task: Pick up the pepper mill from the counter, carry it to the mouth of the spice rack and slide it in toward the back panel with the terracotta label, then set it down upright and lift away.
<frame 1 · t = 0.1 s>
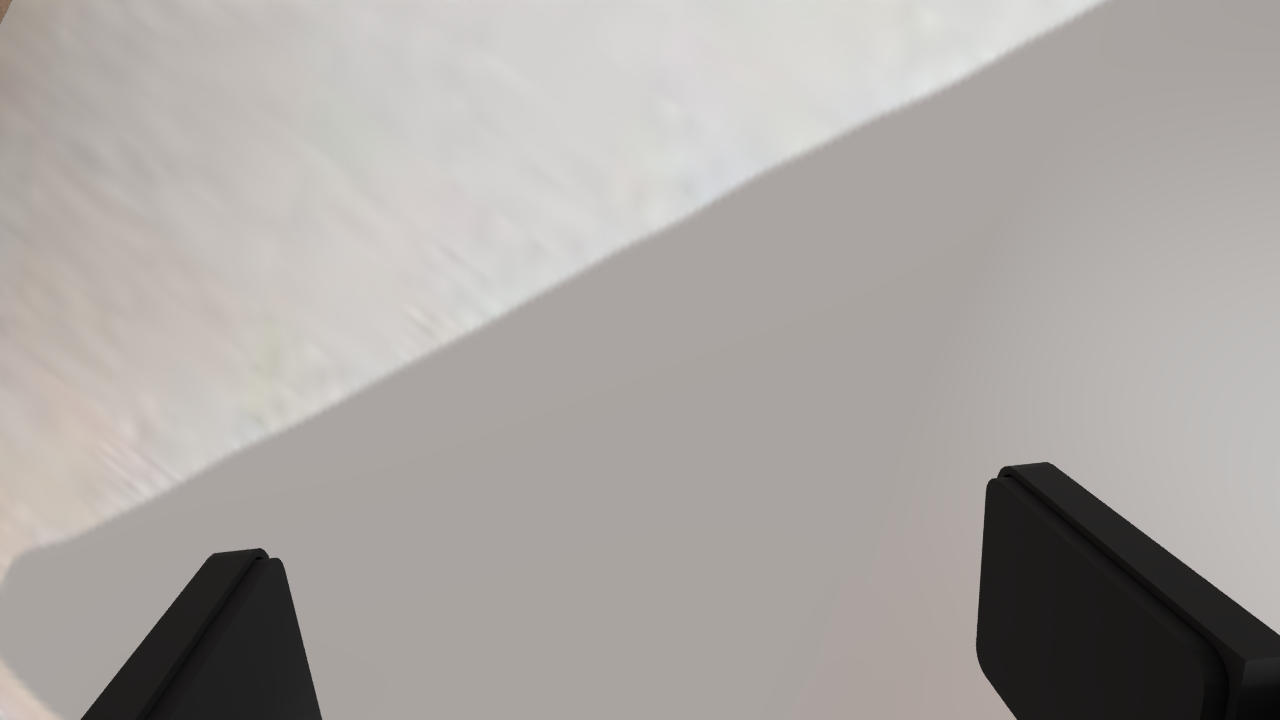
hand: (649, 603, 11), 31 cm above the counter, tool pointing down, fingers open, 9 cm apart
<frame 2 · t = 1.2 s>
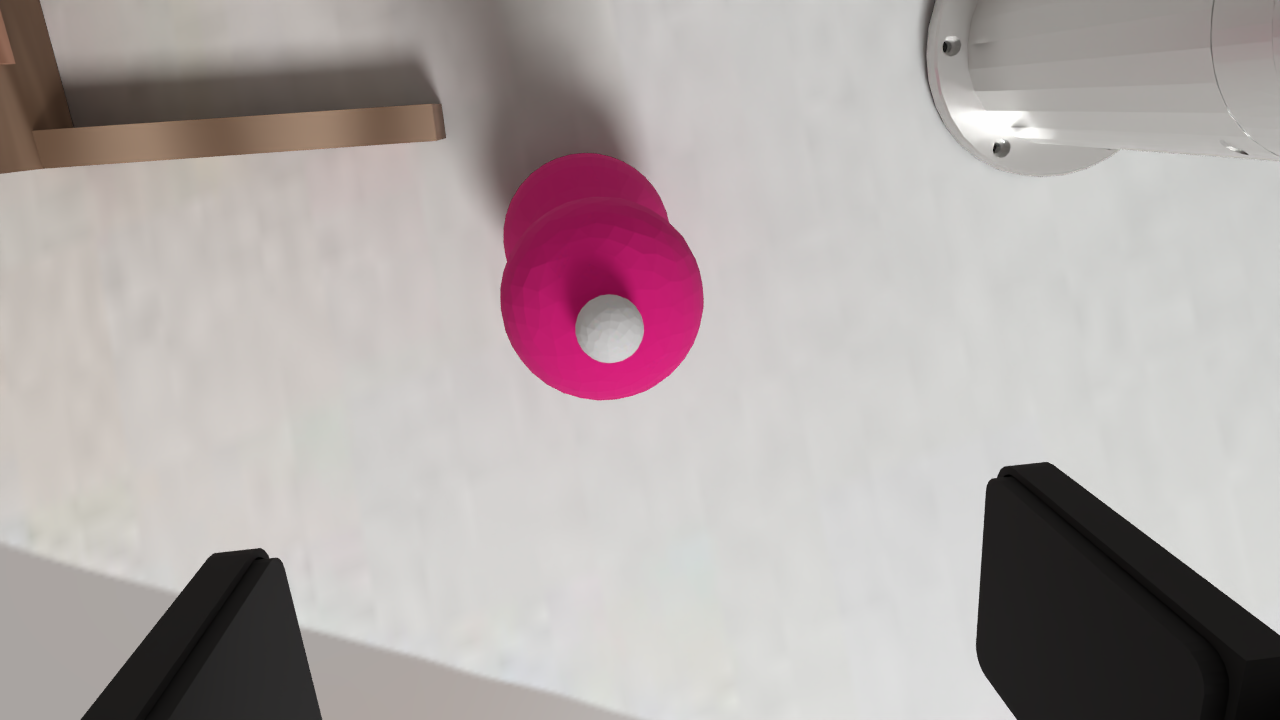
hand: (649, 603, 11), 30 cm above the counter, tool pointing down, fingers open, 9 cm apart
pepper mill: (584, 224, 39), on the counter
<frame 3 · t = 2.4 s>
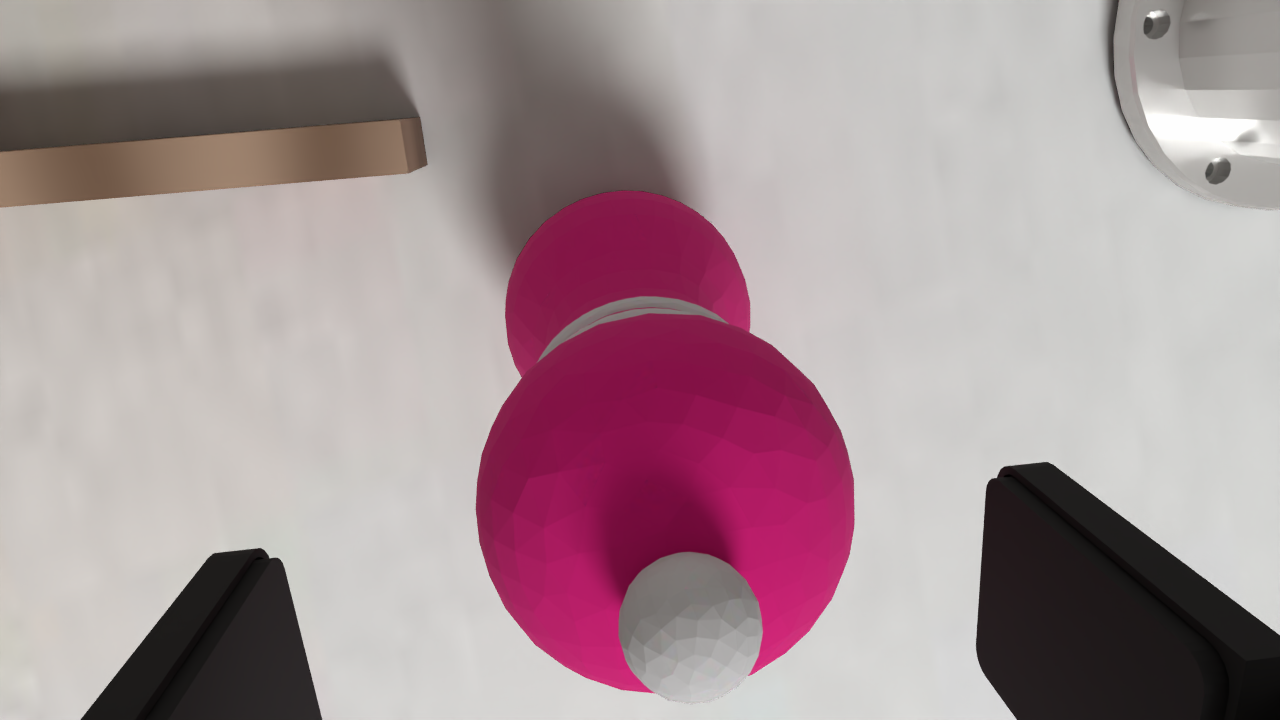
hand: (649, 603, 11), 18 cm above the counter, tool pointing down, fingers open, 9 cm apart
pepper mill: (620, 280, 28), on the counter
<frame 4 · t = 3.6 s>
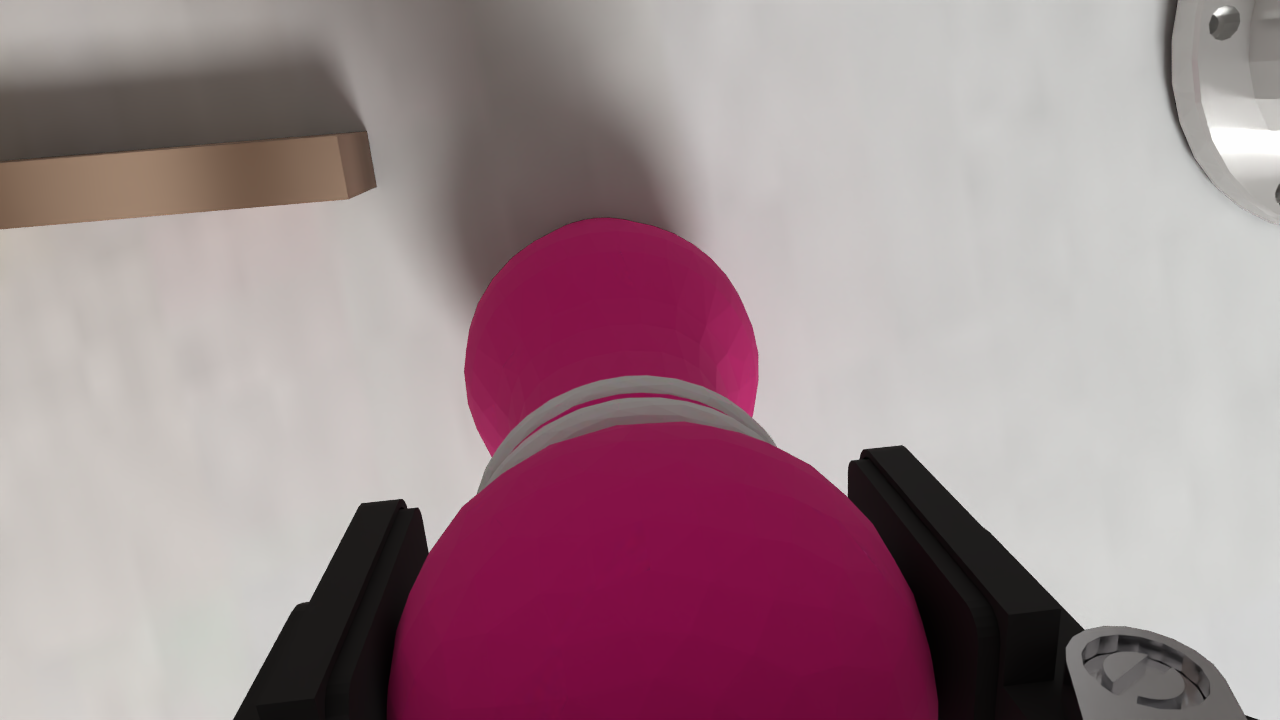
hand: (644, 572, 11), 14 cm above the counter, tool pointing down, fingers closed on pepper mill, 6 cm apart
pepper mill: (604, 319, 24), on the counter, touching gripper
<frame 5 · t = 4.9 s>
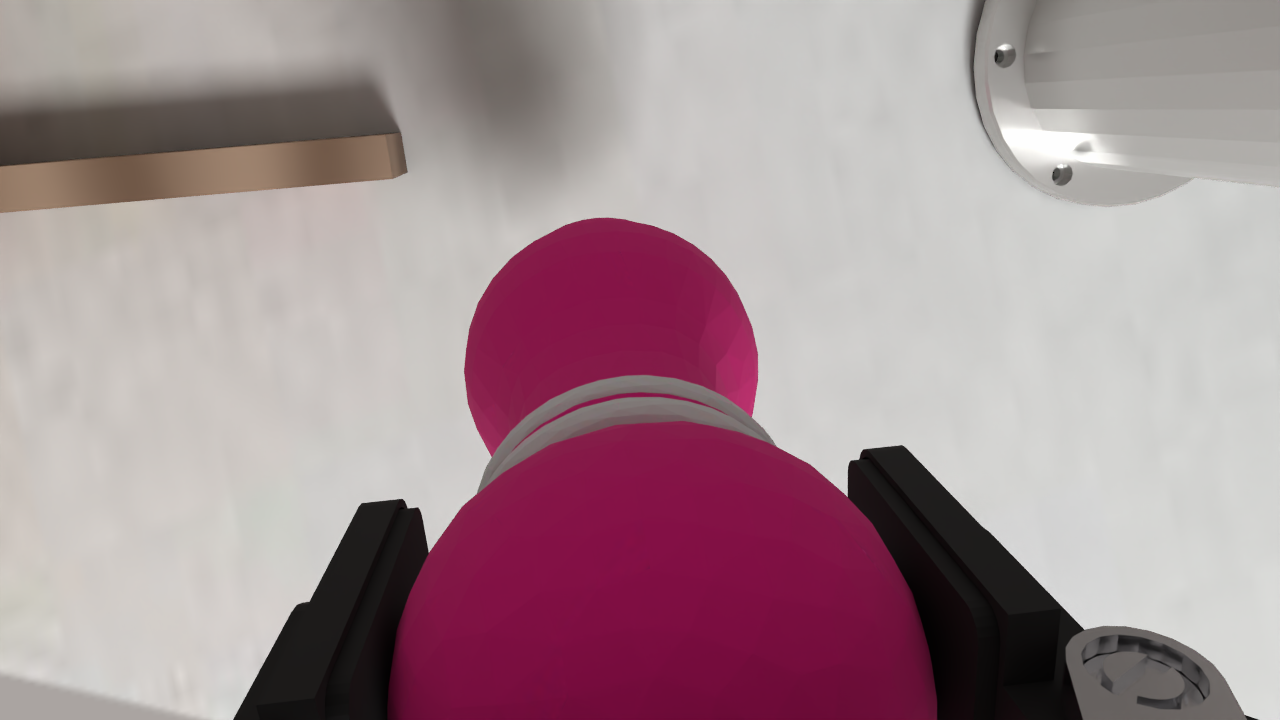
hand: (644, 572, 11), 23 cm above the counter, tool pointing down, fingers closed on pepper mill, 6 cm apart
pepper mill: (604, 319, 24), point 9 cm above the counter, touching gripper
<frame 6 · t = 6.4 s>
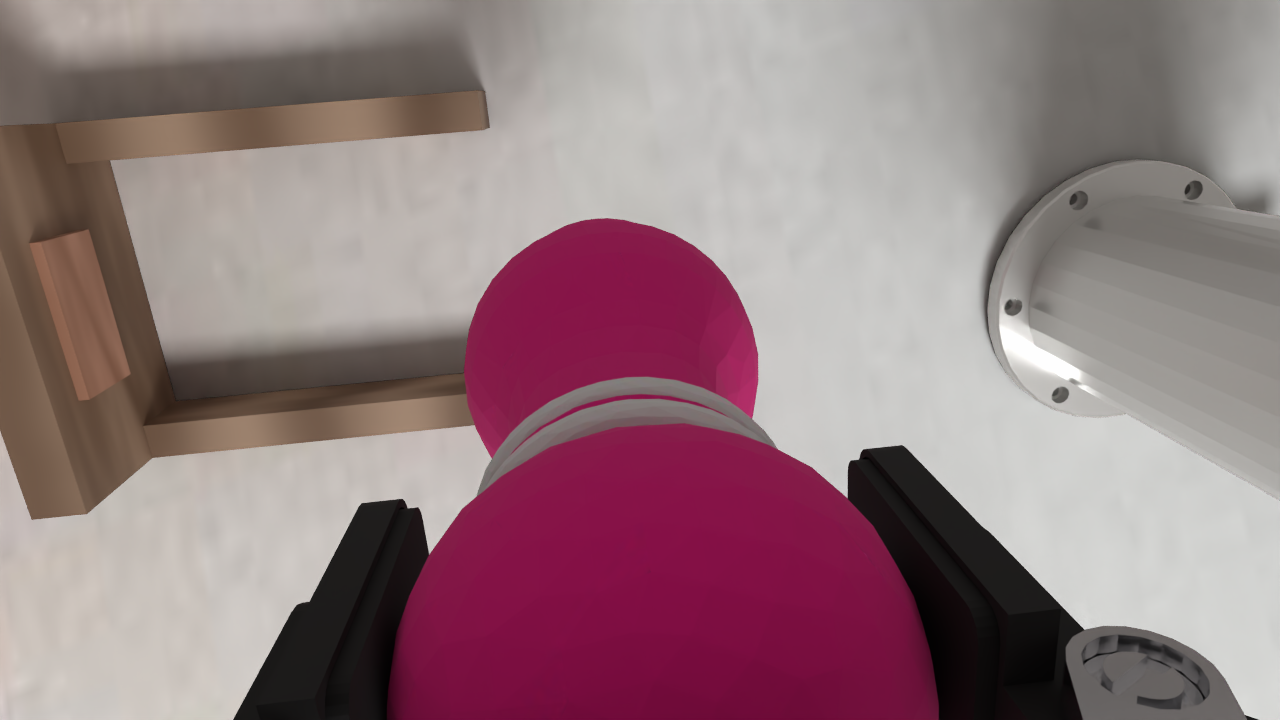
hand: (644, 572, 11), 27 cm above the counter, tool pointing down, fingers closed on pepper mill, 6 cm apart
pepper mill: (604, 320, 24), point 13 cm above the counter, touching gripper
spice rack: (304, 271, 36), on the counter
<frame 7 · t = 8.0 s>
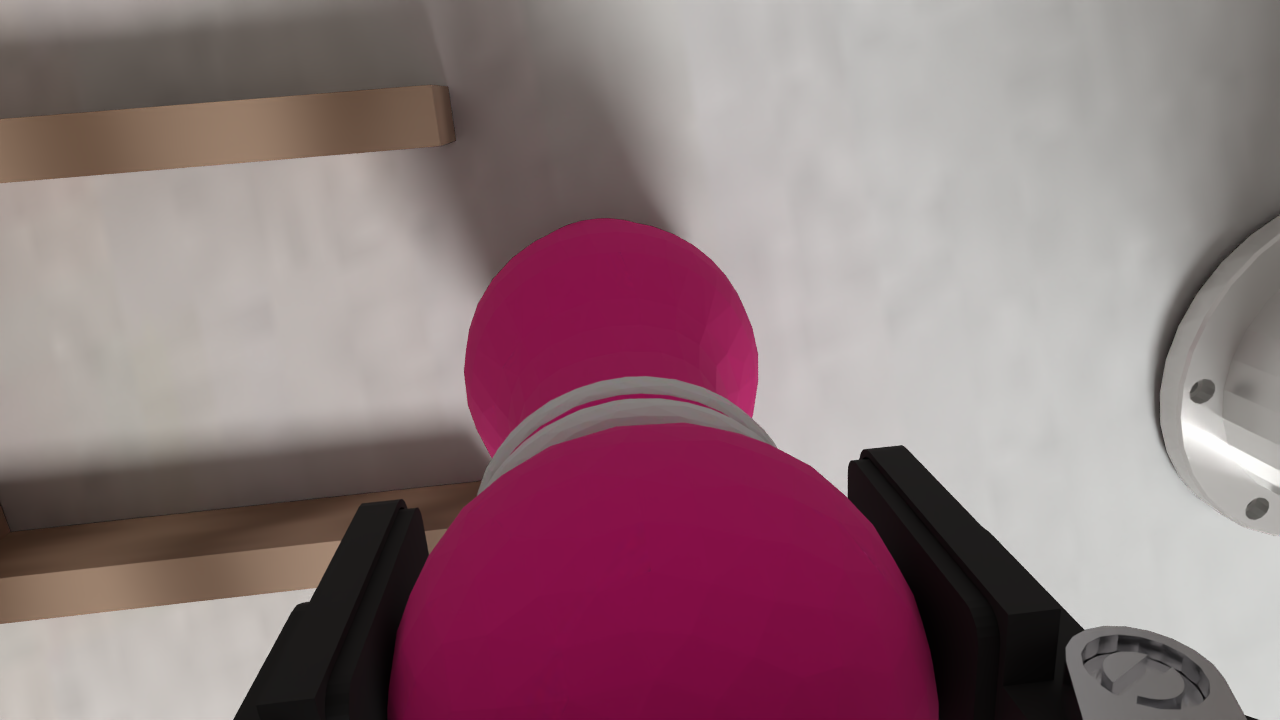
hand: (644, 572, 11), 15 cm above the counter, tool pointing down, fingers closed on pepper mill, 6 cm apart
pepper mill: (604, 319, 24), point 1 cm above the counter, touching gripper
spice rack: (188, 349, 25), on the counter
when the fingers open (14 cm above the counter, at t = 11.8 s): pepper mill stays where it is, resting in spice rack.
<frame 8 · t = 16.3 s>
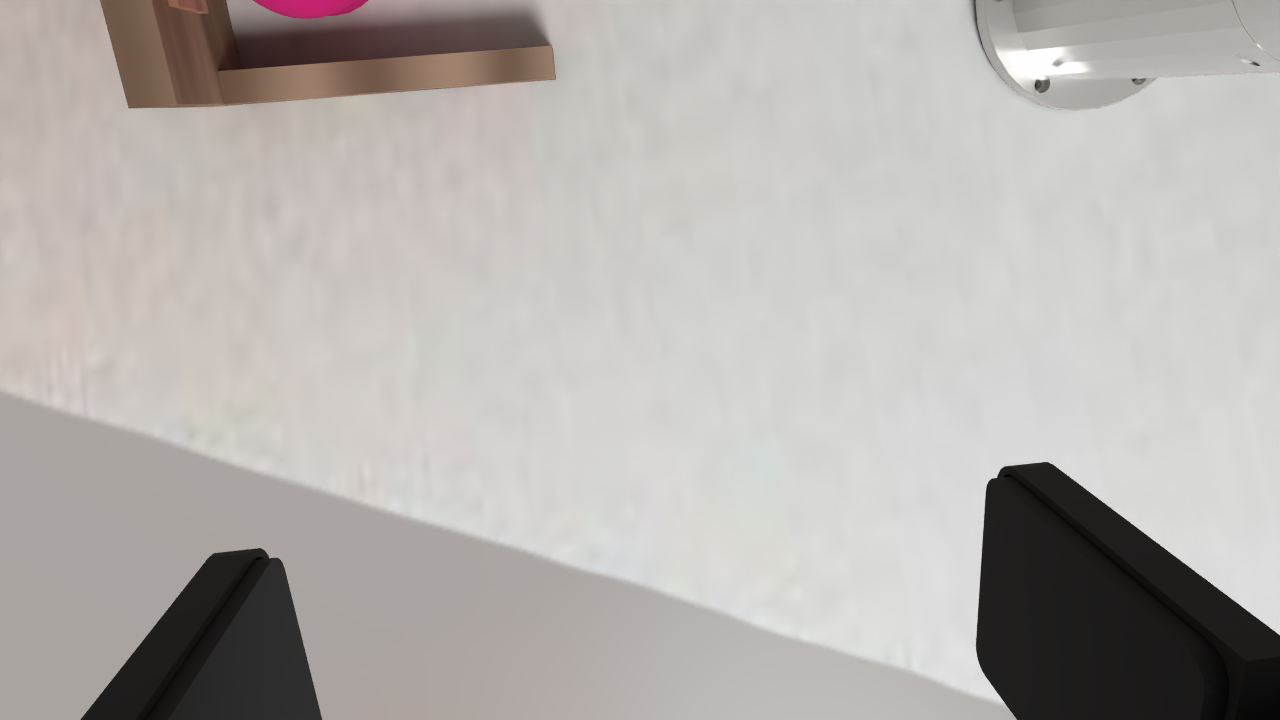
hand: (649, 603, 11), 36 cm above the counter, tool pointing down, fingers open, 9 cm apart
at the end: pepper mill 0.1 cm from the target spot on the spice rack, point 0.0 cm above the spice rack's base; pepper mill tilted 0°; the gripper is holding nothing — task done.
